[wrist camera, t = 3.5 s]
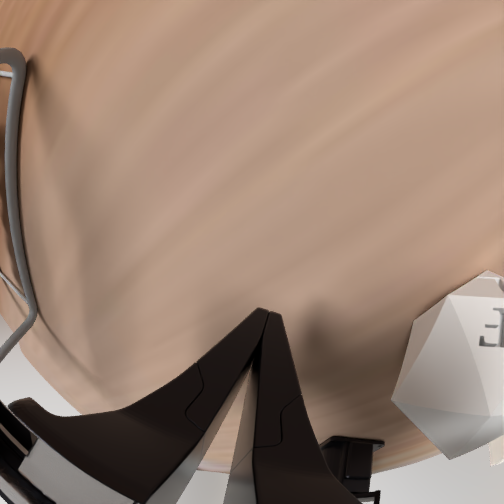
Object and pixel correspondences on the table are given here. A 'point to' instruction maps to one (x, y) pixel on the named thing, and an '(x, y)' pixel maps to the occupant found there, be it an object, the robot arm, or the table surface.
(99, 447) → the robot arm
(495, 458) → the board
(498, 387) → the die
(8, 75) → the newton's cradle
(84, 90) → the table surface
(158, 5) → the table surface
